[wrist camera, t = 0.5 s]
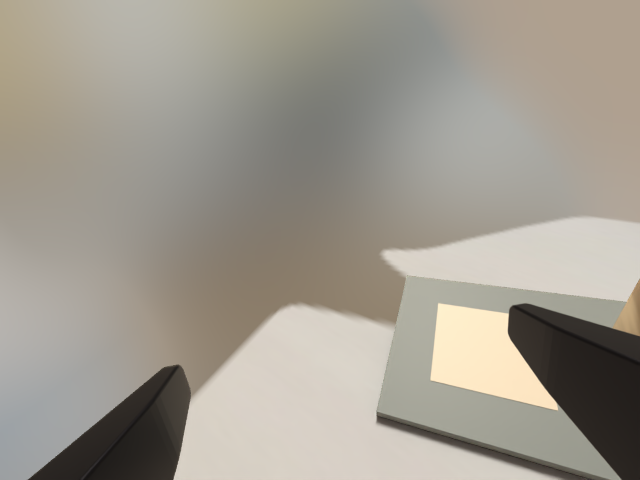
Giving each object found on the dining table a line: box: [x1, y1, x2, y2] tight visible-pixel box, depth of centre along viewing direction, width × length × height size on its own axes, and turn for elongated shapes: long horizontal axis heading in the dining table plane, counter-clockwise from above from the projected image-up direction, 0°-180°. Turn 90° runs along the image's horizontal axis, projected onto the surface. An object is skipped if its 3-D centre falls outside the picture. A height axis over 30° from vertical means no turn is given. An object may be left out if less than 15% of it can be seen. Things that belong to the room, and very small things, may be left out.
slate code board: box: [377, 275, 627, 480], centre depth 22 cm, size 24×14×1 cm, turn 69°
